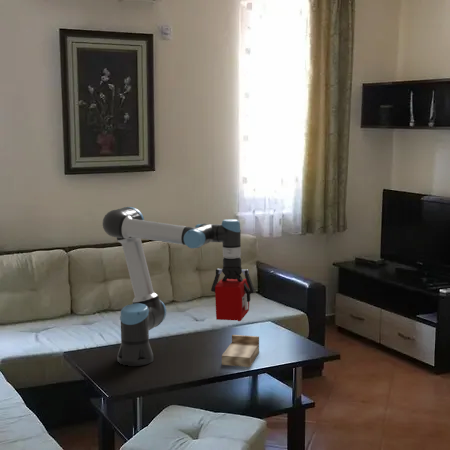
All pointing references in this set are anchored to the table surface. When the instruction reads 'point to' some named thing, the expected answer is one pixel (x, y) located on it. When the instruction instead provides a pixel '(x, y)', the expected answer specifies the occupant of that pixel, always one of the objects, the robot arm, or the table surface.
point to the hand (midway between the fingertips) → (233, 308)
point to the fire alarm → (230, 300)
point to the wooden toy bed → (241, 351)
